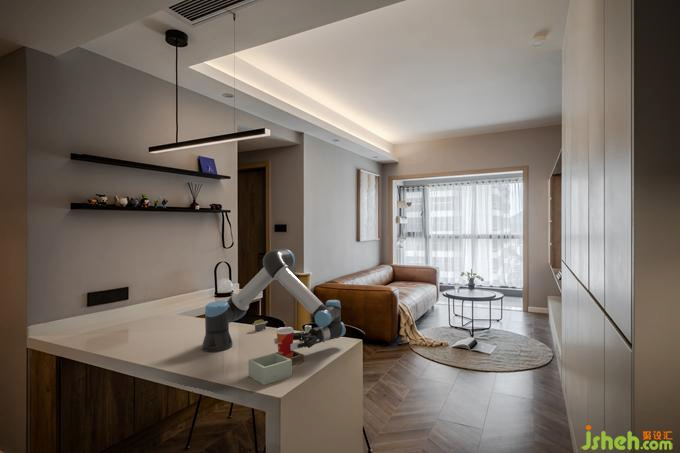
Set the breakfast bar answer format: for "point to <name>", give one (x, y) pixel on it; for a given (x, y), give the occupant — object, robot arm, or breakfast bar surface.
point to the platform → (260, 325)
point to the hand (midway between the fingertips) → (282, 344)
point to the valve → (307, 329)
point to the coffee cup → (285, 341)
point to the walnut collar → (296, 357)
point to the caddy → (270, 368)
